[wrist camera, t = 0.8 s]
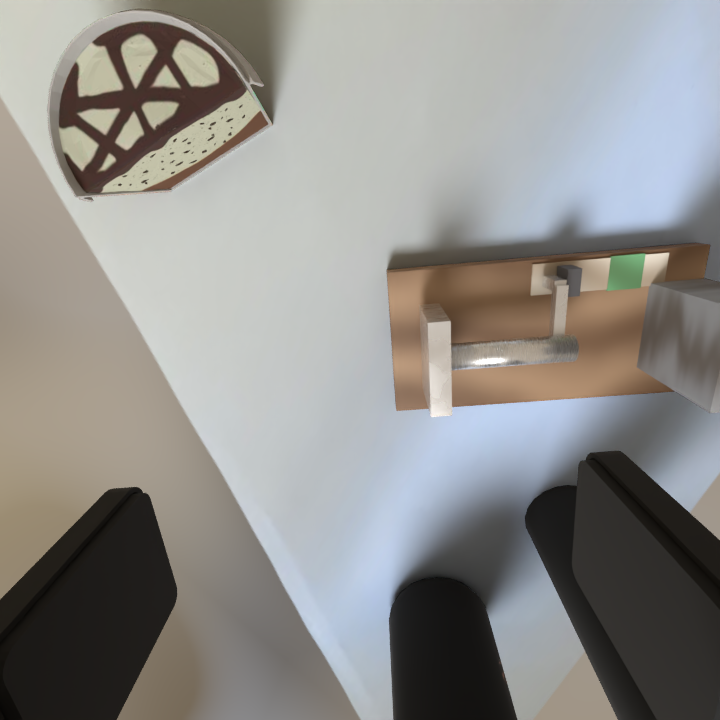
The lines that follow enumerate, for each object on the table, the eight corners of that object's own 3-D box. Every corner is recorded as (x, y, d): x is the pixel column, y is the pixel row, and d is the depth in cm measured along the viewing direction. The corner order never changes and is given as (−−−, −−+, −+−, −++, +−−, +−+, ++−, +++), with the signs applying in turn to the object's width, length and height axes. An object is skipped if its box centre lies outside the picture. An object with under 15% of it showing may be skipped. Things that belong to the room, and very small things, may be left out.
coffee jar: (445, 653, 50) (484, 885, 33) (370, 617, 48) (370, 843, 31) (504, 598, 46) (580, 826, 30) (425, 557, 44) (458, 775, 28)
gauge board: (386, 269, 34) (392, 294, 25) (695, 242, 33) (817, 258, 24) (395, 403, 38) (403, 464, 29) (669, 383, 37) (764, 442, 28)
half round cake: (242, 21, 28) (178, -67, 19) (290, 113, 30) (254, 74, 21) (102, 122, 31) (-16, 87, 21) (155, 201, 32) (68, 202, 23)
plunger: (418, 286, 32) (426, 302, 27) (561, 274, 31) (597, 288, 26) (422, 386, 35) (430, 416, 30) (553, 376, 34) (583, 406, 29)
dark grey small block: (557, 265, 31) (567, 269, 30) (571, 264, 31) (582, 268, 30) (555, 292, 32) (565, 297, 30) (568, 291, 32) (579, 296, 30)
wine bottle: (594, 476, 40) (1104, 1102, 12) (607, 534, 43) (1059, 1167, 15) (516, 498, 41) (822, 1118, 13) (534, 553, 44) (823, 1176, 16)
